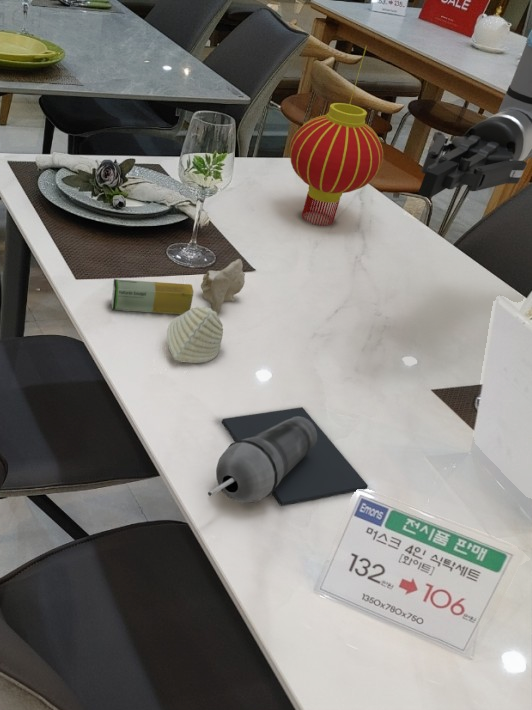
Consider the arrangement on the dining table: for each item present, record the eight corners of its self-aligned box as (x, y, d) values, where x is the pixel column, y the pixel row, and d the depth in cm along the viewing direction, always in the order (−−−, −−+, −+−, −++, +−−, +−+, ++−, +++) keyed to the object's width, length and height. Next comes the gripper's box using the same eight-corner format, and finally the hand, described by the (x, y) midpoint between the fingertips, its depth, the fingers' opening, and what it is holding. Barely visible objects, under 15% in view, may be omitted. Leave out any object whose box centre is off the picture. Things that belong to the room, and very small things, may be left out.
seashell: (239, 331, 111) (235, 329, 103) (201, 376, 113) (194, 378, 106) (196, 294, 111) (190, 290, 103) (159, 340, 113) (150, 339, 106)
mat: (366, 489, 92) (368, 485, 92) (280, 505, 88) (282, 502, 88) (301, 410, 103) (302, 407, 102) (221, 422, 98) (222, 418, 98)
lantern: (316, 196, 159) (363, 30, 139) (378, 231, 150) (437, 59, 129) (256, 207, 151) (296, 32, 130) (317, 244, 142) (370, 63, 121)
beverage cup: (266, 436, 97) (170, 502, 85) (290, 393, 92) (191, 456, 79) (311, 472, 95) (219, 545, 83) (337, 429, 90) (244, 500, 77)
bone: (213, 273, 125) (248, 235, 116) (237, 304, 125) (273, 269, 117) (180, 291, 120) (214, 253, 112) (205, 324, 120) (240, 289, 112)
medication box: (111, 311, 115) (113, 288, 112) (110, 300, 117) (112, 277, 114) (190, 315, 117) (194, 293, 114) (188, 305, 118) (192, 282, 115)
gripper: (528, 190, 104) (466, 236, 90) (440, 159, 109) (368, 197, 95) (555, 132, 99) (494, 170, 85) (462, 102, 104) (388, 133, 90)
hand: (427, 184), depth 90 cm, fingers closed
